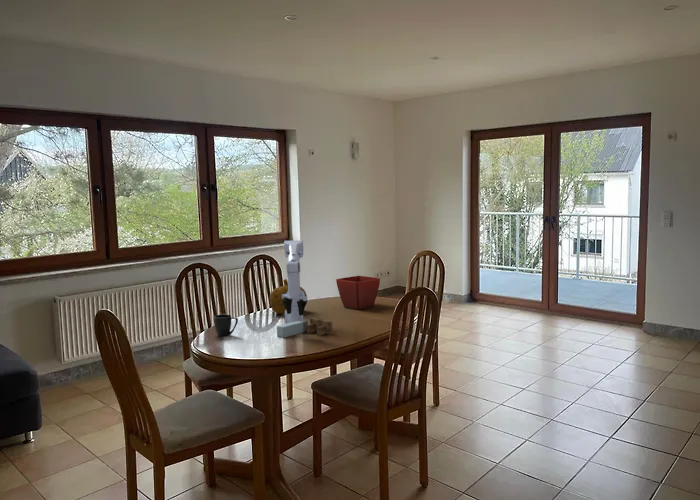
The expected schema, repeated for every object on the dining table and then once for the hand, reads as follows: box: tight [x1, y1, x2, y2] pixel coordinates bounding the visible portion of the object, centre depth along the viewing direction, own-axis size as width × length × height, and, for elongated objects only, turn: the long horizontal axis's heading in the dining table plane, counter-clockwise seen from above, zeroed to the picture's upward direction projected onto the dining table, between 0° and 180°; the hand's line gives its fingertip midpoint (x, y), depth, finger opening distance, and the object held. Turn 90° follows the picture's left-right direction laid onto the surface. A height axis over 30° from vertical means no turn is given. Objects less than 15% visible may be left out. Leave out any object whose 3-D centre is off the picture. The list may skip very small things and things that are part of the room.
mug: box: [213, 313, 239, 338], centre depth 261 cm, size 8×12×10 cm
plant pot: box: [335, 275, 381, 310], centre depth 319 cm, size 19×19×17 cm
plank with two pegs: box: [306, 317, 334, 337], centre depth 261 cm, size 14×6×6 cm, turn 47°
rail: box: [276, 319, 308, 339], centre depth 262 cm, size 16×4×5 cm, turn 137°
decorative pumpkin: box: [269, 278, 308, 316], centre depth 307 cm, size 20×21×20 cm
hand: (295, 314), depth 260 cm, fingers open, 7 cm apart
